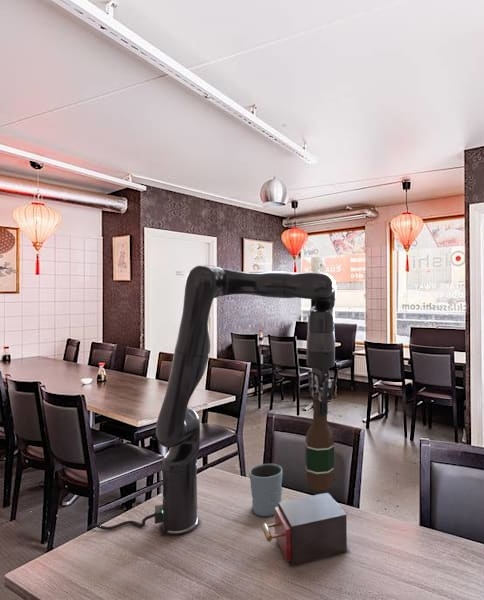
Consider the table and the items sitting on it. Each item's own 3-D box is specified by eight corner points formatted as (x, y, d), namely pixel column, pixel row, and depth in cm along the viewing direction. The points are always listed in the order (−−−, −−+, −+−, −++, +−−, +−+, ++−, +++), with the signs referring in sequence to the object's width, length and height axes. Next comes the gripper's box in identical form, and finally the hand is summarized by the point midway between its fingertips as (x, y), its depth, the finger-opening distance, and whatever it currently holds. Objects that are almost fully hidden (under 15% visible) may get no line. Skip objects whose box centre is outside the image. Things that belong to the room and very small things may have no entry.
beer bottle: (331, 492, 105) (332, 399, 105) (301, 489, 107) (302, 397, 106) (336, 479, 113) (337, 392, 112) (308, 476, 114) (309, 390, 114)
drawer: (269, 565, 99) (269, 533, 99) (259, 539, 110) (259, 510, 109) (337, 548, 105) (337, 518, 105) (321, 525, 116) (321, 498, 116)
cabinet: (292, 565, 100) (291, 526, 100) (278, 537, 112) (278, 502, 112) (346, 551, 105) (346, 514, 105) (328, 525, 117) (328, 492, 117)
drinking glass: (280, 517, 122) (280, 477, 121) (246, 517, 122) (246, 477, 122) (284, 500, 132) (284, 463, 132) (252, 500, 132) (252, 463, 132)
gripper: (298, 345, 114) (298, 407, 115) (317, 353, 101) (316, 422, 101) (324, 344, 117) (323, 404, 117) (344, 351, 104) (344, 419, 104)
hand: (320, 412), depth 109 cm, fingers closed on beer bottle, 3 cm apart
